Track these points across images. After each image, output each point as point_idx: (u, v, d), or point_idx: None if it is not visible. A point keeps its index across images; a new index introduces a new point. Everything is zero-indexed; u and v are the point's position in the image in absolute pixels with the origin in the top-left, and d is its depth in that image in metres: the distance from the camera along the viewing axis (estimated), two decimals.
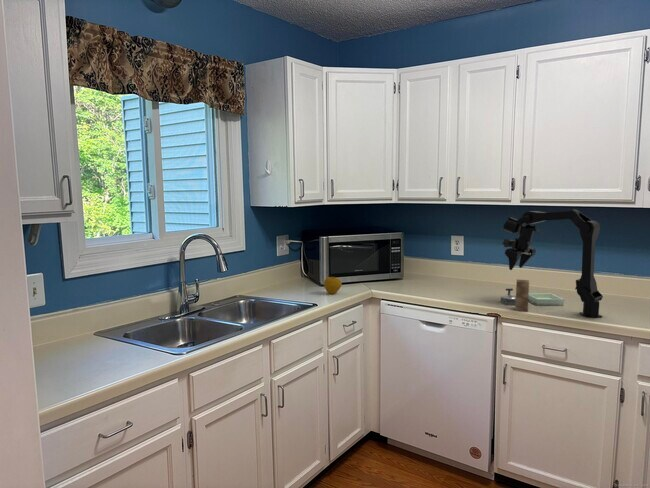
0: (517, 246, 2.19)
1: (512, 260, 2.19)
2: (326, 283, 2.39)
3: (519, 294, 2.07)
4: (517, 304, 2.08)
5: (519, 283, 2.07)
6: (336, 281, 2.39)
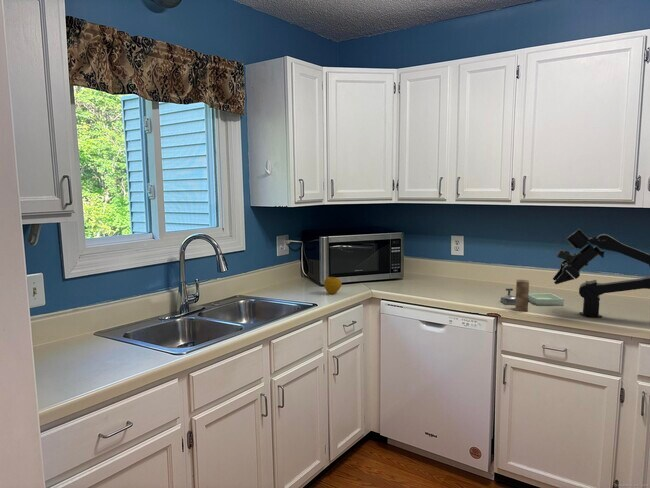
0: (574, 263, 1.98)
1: (564, 276, 1.97)
2: (326, 283, 2.39)
3: (519, 294, 2.07)
4: (517, 304, 2.08)
5: (519, 283, 2.07)
6: (336, 281, 2.39)
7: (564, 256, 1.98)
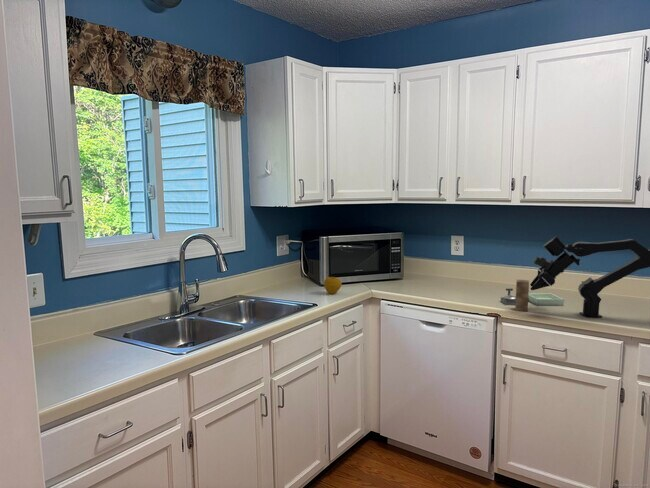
0: (550, 270, 2.01)
1: (540, 283, 2.01)
2: (326, 283, 2.39)
3: (519, 294, 2.07)
4: (517, 304, 2.08)
5: (519, 283, 2.07)
6: (336, 281, 2.39)
7: (540, 263, 2.01)
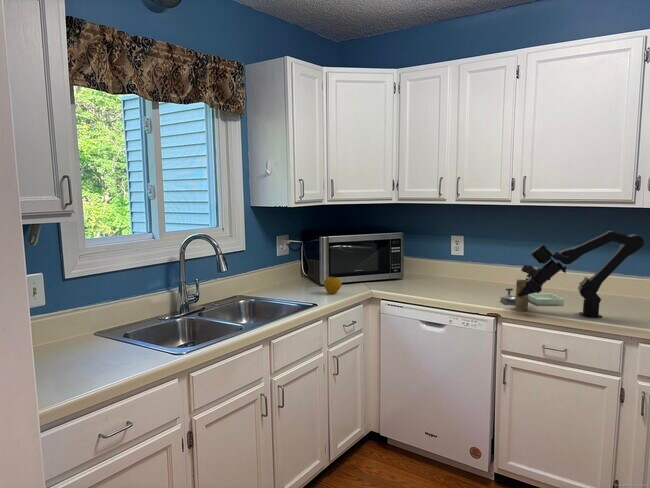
0: (537, 278, 2.04)
1: (527, 289, 2.05)
2: (326, 283, 2.39)
3: None
4: (517, 304, 2.08)
5: (519, 283, 2.07)
6: (336, 281, 2.39)
7: (528, 270, 2.03)
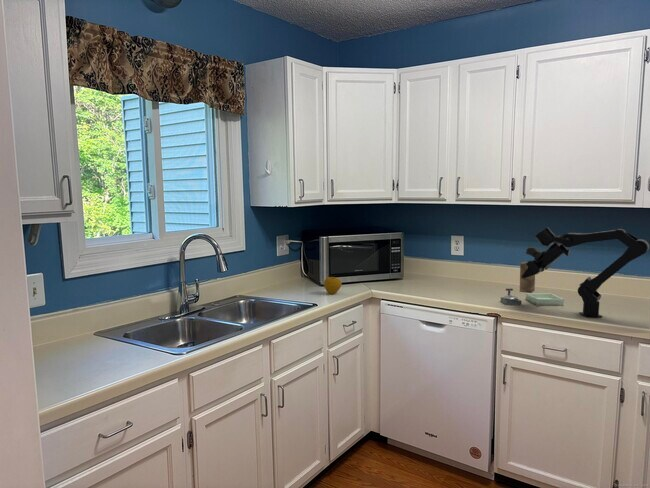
0: (540, 260, 2.08)
1: (530, 271, 2.10)
2: (326, 283, 2.39)
3: None
4: (521, 285, 2.15)
5: (523, 265, 2.13)
6: (336, 281, 2.39)
7: (530, 252, 2.09)
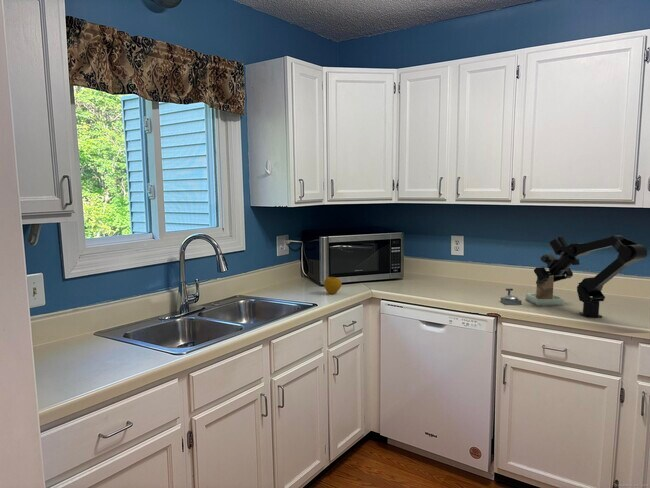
0: (551, 267, 2.15)
1: None
2: (326, 283, 2.39)
3: (539, 284, 2.22)
4: (537, 294, 2.23)
5: None
6: (336, 281, 2.39)
7: (542, 260, 2.17)
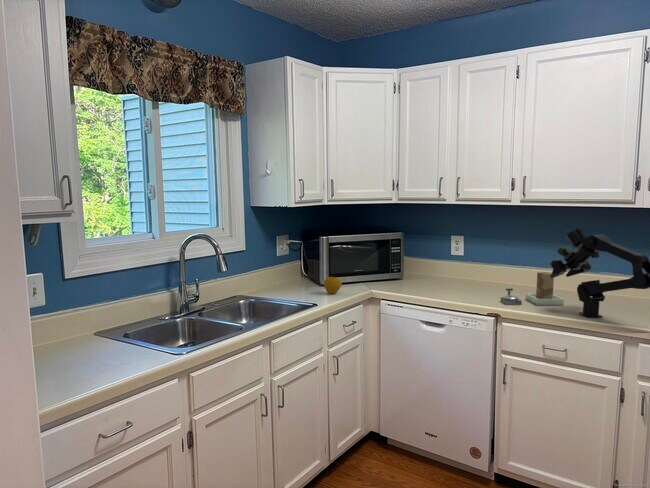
0: (569, 260, 2.06)
1: (556, 271, 2.09)
2: (326, 283, 2.39)
3: (539, 284, 2.22)
4: (537, 294, 2.23)
5: (539, 274, 2.22)
6: (336, 281, 2.39)
7: (559, 252, 2.08)
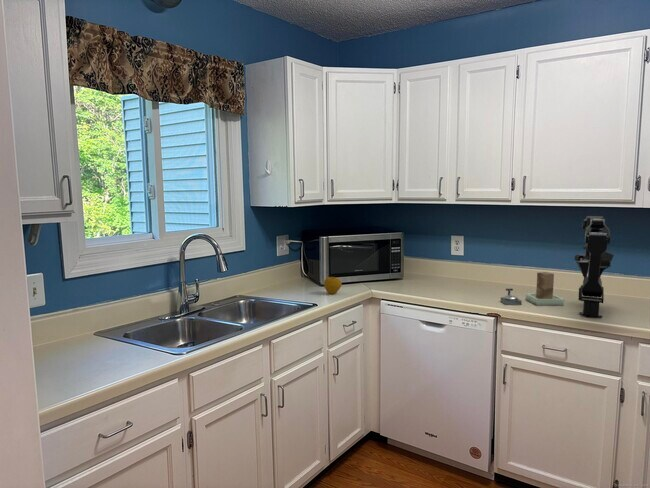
0: None
1: None
2: (326, 283, 2.39)
3: (539, 284, 2.22)
4: (537, 294, 2.23)
5: (539, 274, 2.22)
6: (336, 281, 2.39)
7: None
